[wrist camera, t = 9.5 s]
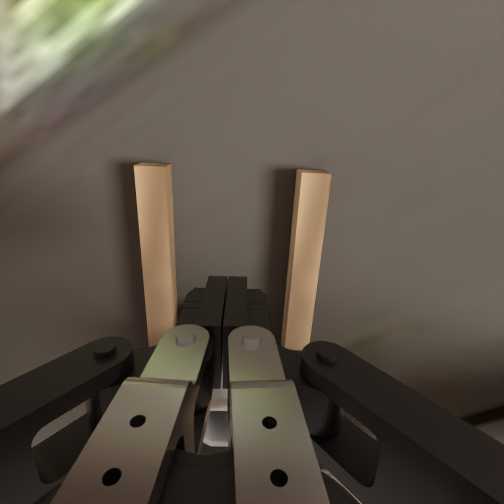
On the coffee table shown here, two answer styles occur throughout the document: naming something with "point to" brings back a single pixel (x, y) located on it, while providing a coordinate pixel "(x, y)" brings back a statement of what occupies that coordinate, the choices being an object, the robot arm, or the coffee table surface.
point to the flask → (217, 418)
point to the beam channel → (163, 251)
